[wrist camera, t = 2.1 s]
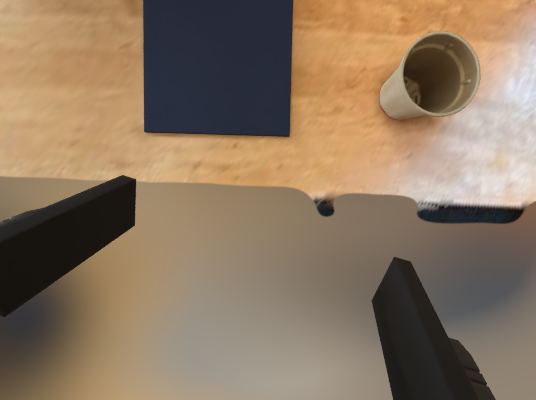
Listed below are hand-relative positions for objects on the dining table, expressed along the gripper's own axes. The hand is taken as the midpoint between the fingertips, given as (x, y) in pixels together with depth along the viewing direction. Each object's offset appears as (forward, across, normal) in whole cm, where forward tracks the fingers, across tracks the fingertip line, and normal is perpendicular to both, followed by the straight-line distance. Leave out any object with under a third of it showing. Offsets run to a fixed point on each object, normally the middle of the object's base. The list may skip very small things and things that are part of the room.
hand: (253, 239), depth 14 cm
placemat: (+28, -14, +8) cm, 33 cm away
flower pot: (+34, +12, +9) cm, 37 cm away
